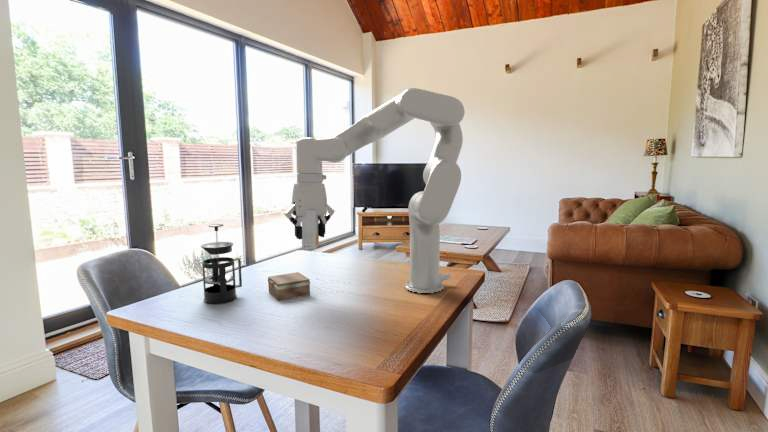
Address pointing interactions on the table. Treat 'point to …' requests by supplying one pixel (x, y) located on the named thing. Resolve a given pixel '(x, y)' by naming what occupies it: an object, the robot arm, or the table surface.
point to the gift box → (289, 286)
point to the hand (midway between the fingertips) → (310, 237)
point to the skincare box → (310, 230)
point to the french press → (220, 272)
